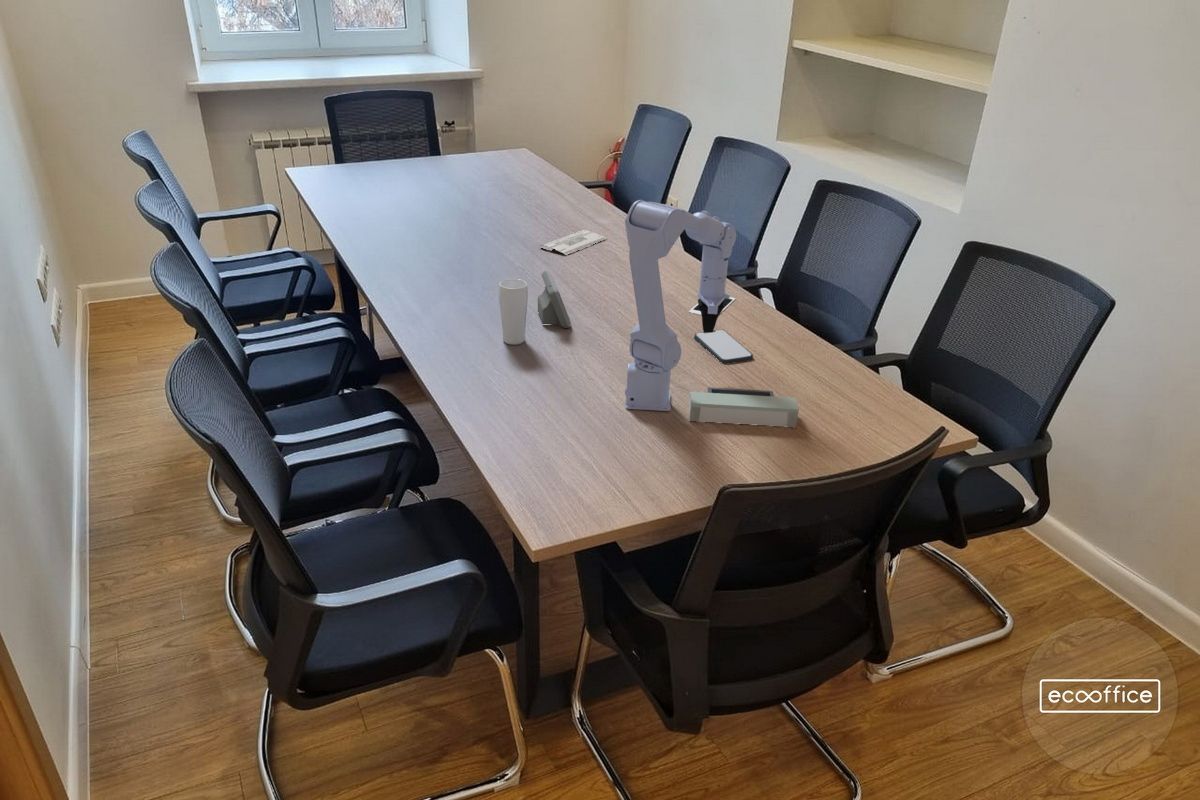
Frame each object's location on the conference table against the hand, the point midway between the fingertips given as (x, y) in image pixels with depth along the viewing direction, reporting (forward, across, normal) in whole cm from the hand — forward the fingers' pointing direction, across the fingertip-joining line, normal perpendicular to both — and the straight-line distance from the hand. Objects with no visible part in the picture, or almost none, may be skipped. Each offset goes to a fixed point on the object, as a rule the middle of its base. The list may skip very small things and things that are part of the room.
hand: (707, 331), depth 198 cm
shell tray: (+10, -18, -7) cm, 21 cm away
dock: (+10, -21, -7) cm, 24 cm away
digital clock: (+10, +26, +37) cm, 47 cm away
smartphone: (+11, +13, -5) cm, 17 cm away
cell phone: (+10, +40, -4) cm, 42 cm away
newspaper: (+11, +86, +39) cm, 95 cm away
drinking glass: (+10, +10, +46) cm, 48 cm away
